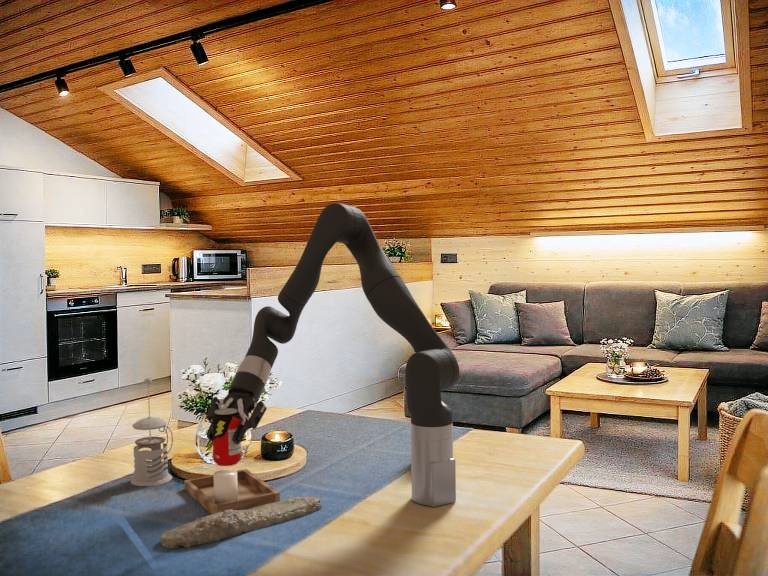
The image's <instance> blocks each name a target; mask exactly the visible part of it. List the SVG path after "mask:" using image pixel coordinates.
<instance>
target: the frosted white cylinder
mask: <svg viewBox="0 0 768 576" xmlns="http://www.w3.org/2000/svg"><path fill="white" fill-rule="evenodd" d="M237 471H238V470H236V469H235V470H234V469H230V468H229V469H221V470H217V471H214V472H213V473H212V475H213V476H214V503H215V504H218V503H223V502H228V501H233V500H238V482H237Z"/></svg>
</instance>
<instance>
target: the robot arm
mask: <svg viewBox="0 0 768 576" xmlns="http://www.w3.org/2000/svg"><path fill="white" fill-rule="evenodd" d="M337 243H340V244H343V245H344V246H345V247H346V248H347V249H348V251H349V252H350V253H351V255H352V256H353V258H354V259H355V261H356V262H357V265H358V268H359V273H360V281H361V288H362V290H363V291H362V292H363V293H364V295H365V297H366V299H367V301H368V303H369V304H370V306H371V308H372V309H373V311H374V313H375V314H376V315H377V316H378V318H379V319H380V320H381V321H383V322H384V323H385V324H386V325H388V327H389V328H391V329H392V330H394V331H395V332H396V333H398V334H399V335H401V337H402V338H404V339H405V340H406V341H407V342H408V343H409V345H410V346H411V348H412V349H413V350H414V352H415V353H412V354H411V355H410V356H409V358H408V360H407V362H406V363H405V364H406V365H405V370H404V371H405V372H404V374H405V375H404V380H405V381H404V383H405V394H406V395H405V398H406V408H407V411H408V413H409V415H410V453H411V454H410V460H411V461H410V462H411V463H410V464H411V466H410V467H411V469H410V472H411V499H412V501H413V502H414V503H416V504H419V505H424V506H430V507H433V508H434V507H439V506H443V505H448V504H451V503H456V502H457V498H456V497H457V487H456V486H457V484H456V481H457V480H456V478H457V476H456V471H457V470H456V469H457V468H456V459H455V458H454V446H453V445H454V437H453V435H454V431H453V430H454V425H453V422H454V421H453V411H452V408H450V407H449V406H448V407H446V406H443V405H442V402H443V401H442V394H441V393H442V392H441V391H442V390H445V389H448V388H451V387H453V386H454V385H456V383H457V382H458V380H459V377H460V366H459V362H458V359H457V358H456V356H455V354H454V353H453V352H452V350H451V349H450V348H449V346H448V345H447V344H446V342H445V341H444V340H443V338H441V336H440V335H439V334H438V333H437V331H436V330H435V329H434V327H433V326H432V324H431V323H430V321H429V320H428V318H427V317H426V316H425V314H424V312H423V311H422V309H421V308H420V306H419V305H418V303H417V302H416V300H415V298H414V297H413V294H412V293H411V292H410V290H409V288H408V286H407V285H406V283H405V282H404V280H403V279H402V277H401V276H400V273H398V271H397V269H396V268H395V267H394V265H393V264H392V262H391V260H390V258H389V257H388V256H387V254H386V253H385V251H384V249H383V248H382V247H381V245H380V243H379V241H378V239H377V237H376V235H375V233H374V230H373V228H372V227H371V224H370V222H369V220H368V218H367V216H366V215H365V213H364V212H363V211H362V210H361V209H359V208H358V207H355V206H353V205H348V204H345V203H341V202H332V203H328V204H327V205H326V206H325V207H324V208H323V209H322V210H321V212H320V214H319V215H318V218H317V219H316V223H315V224H314V227H313V229H312V230H311V234H310V236H309V238H308V240H307V243H306V245H305V247H304V250H303V252H302V254H301V256H300V259H299V260H298V262H297V264H296V266H295V268H294V270H293V271H292V273H291V274H290V276H289V278H288V279H287V280H286V283H284V286H283V287H282V288H281V290H280V291H279V293H278V295H277V300H278V303H279V304H280V306H281V307H282V308H284V309H285V310H286V311H287V313H288V314H289V315H288V314H286V313H283V312H282V311H280V310H278V309H276V308H275V307H272V306H269V305H268V306H267V305H266V306H264V307H262V308H261V309H259V311H258V312H257V314H256V315H255V318H254V323H253V332H252V337H251V343H250V344H249V347H248V350H247V351H246V353H245V356H244V357H243V360H242V361H241V362H240V364H239V366H238V368H237V370H236V372H235V375H234V376H233V378H232V381H231V383H230V385H229V387H228V393H227V395H226V396H225V397H224V398H218V396H214V397H213V398H212V400H211V403H210V405H209V408H208V411H207V413H206V418H205V419H206V420H207V421H208V422H209V423H210V425H209V427H208V429H207V432H206V439H208V441H209V442H213V438H212V418H213V416H214V414H215V411H216V410H218V409H224V408H233V409H237V410H238V411H237V412H238V414H239V417H240V426H239V425H238V428H237V429H236V432H235V434H234V436H233V438H232V441H233V442H234V443H235V444H239V443H240V442H241V443H242V441H243V439H245V435H246V434H247V433H246V432H247V431H249V430H250V429H252V430H255V429H257V428H258V425H259V424H260V422H261V420H262V419H263V416H264V415H265V413H266V411H267V409H268V408H267V406H266V404H264V402H263V401H262V400H260V398H261V396H262V393H264V392H263V391H264V389H265V387H266V384H267V382H268V380H269V378H270V374H271V370H272V368H273V366H274V364H275V362H276V359H277V357H278V355H279V349H278V348H279V347H277V345H276V344H275V343H274V342H273V341H275V342H276V343H278V344H282V345H283V344H288V343H289V342H291V340H293V338H294V336H295V333H296V331H297V326H298V323H299V320H300V316H301V315H302V312H303V310H304V309H305V306H307V303H308V302H309V300H310V299H311V298H312V295H313V294H314V293H315V291H316V289H317V287H318V285H319V281H320V279H321V272H322V267H323V263H324V261H325V258H326V256H327V255H328V253H329V251H330V250H331V249H332V248H333V247H334V246H335V244H337ZM271 340H273V341H271ZM259 400H260V401H259ZM441 401H442V402H441ZM250 413H251V414H250Z"/></svg>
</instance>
